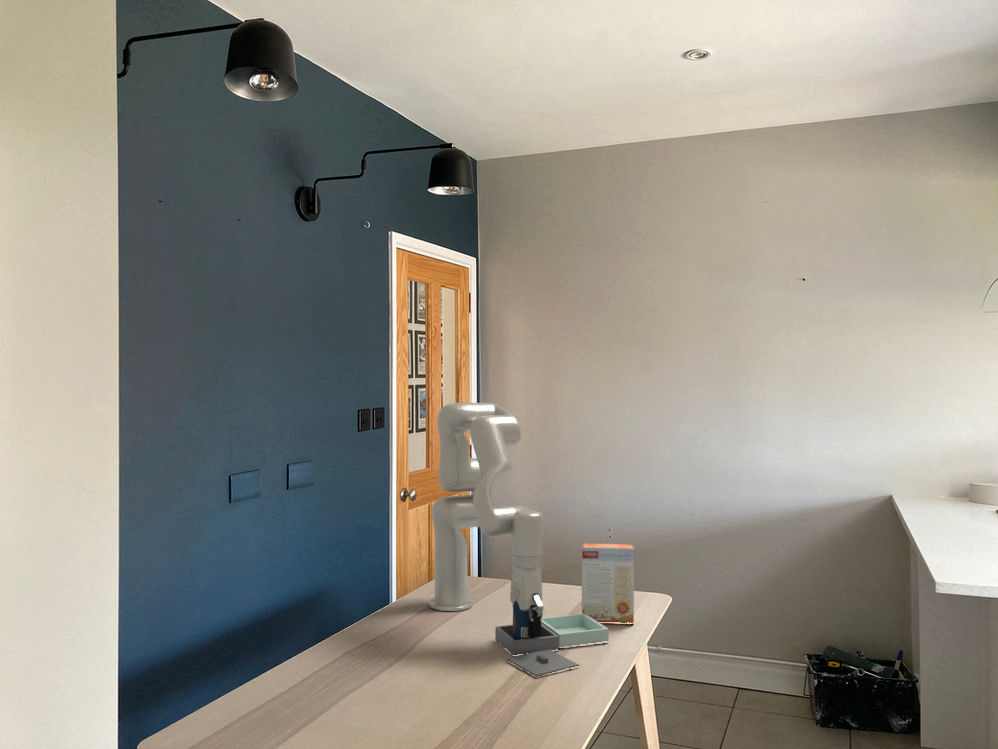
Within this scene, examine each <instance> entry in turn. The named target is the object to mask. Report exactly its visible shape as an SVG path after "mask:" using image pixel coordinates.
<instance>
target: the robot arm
mask: <svg viewBox="0 0 998 749" xmlns="http://www.w3.org/2000/svg"><path fill="white" fill-rule="evenodd" d="M436 422H437V424H436V425H437V432H438V435H439V443H440V446H439V447H440V448H439V470H438V482H439V486H440V488H441V490H443V491H444V492H447V493H460V492H461V493H464V492H470V494H465V495H464V494H462V495H460V494H459V495H450V496H443V497H441V498H438V499H436V500H435V502H434V503H433V504H432V507H431V517H432V518H431V519H432V523H433V531H434V595H433V596H434V597H433V598H431V599H430V600H429V601H428V607H430V608H431V609H432V610H436V611H440V612H441V611H442V612H459V611H465V610H468V609H470V608H471V607H473V600H472V598H469V597H468V562H469V561H468V558H469V556H468V552H469V551H468V548H469V547H468V542H467V540H466V538H465V536H464V535H463V533H462V531H461V530H463V529H469V528H479V529H480V531H481V533H482V534H483V535H484V536H485V537H488V538H490V539H491V538H494V539H495V538H504V537H512V543H511V544H512V545H511V546H512V551H511V553H512V554H511V555H512V557H511V560H512V561H511V564H512V567H511V568H512V570H511V578H510V580H511V581H510V596H509V597H510V598H509V600H510V602H511V604H513V603H514V601H517V602H518V604H519V608H520V609H521V610H522V611H526V610H527V611H528V614H529V618H530V620H528V637H530V638H531V637H540V636H541V620H542V618H543V611H544V605H543V582H542V579H543V578H542V571H541V570H542V569H543V564H544V563H543V562H544V560H543V556H544V555H543V554H544V551H543V547H544V546H543V545H544V542H543V541H544V516H543V515H542V513H541V512H540V511H537V510H532V509H530V508H529V507H528V506H525V505H520V504H519V505H504V506H494V507H493V506H492V496H493V494H492V493H493V483H494V482H496V481H498V480H500V479H502V478H503V477H505V476H506V475H508V474H509V473H510V471H511V470H512V467H513V464H512V461H511V457H510V454H509V451H508V447H507V446H515V445H517V444H519V442H520V440H521V438H522V427H521V424H520V421H519V420H518V419H517V417H515V416H514V414H512V413H511V412H510V411H507V410H506V409H505V408H503V407H502V406H500V405H499V404H496V403H494V402H453V403H448V404H446V405H444V406H442V408H440V410H439V412H438V415H437V419H436ZM468 433H469V435H470V439H471V443H472V446H473V450H474V453H475V457H476V458H475V457H472V458H471V457H470V449H471V448H470V441H469V439H468V437H467V436H466V434H468ZM516 599H517V600H516ZM530 606H536V607H532V608H530ZM533 611H536V612H534V614H532V612H533Z"/></svg>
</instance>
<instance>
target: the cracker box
mask: <svg viewBox="0 0 998 749" xmlns="http://www.w3.org/2000/svg"><path fill="white" fill-rule="evenodd" d="M581 548H582V549H581V551H582V552H581V614H586V615H587V616H589V617H591V618H592V619H594V620H595V621H597V622H621V623H627V622H629V623H630V622H631V623H633V622H634V623H635V621H634V620H635V619H634V617H635V613H634V612H635V610H634V608H635V602H634V601H635V600H634V599H635V597H634V596H635V591H634V590H635V582H634V581H635V580H634V579H635V572H634V571H635V566H634V565H635V563H634V562H635V548H634V546H633V544H629V543H628V544H627V543H626V544H625V543H623V544H622V543H621V544H620V543H619V544H618V543H584V542H583V543H582V545H581Z"/></svg>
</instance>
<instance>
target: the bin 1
mask: <svg viewBox="0 0 998 749" xmlns="http://www.w3.org/2000/svg"><path fill="white" fill-rule="evenodd" d="M494 632H495V635H494V636H495V640H496V641H497V642H498V643H500V644H501V645H502V646H503V647H504V648H506V649H507V650H508V651H509V652H510V653H511V654H512V655H518V654H527V653H532V652H537V651H541V650H546V649H549V650H556V649H559V636H558V635H556V634H555V633H554V632H552V631H551V630H550V629H548V628H547V627H546V626H544V625H543V624H541V637H539V638H531V639H522V640H514V639H513V624H508V625H499V626H495V631H494ZM496 641H495V642H496ZM497 642H496V643H497ZM498 643H497V644H498ZM502 646H501V647H502ZM503 647H502V648H503ZM504 648H503V649H504ZM559 650H560V649H559Z"/></svg>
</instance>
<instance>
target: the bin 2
mask: <svg viewBox="0 0 998 749" xmlns="http://www.w3.org/2000/svg"><path fill="white" fill-rule="evenodd" d="M541 624H543V625H544V626H546V627H547V628H548V629H550V630H551V631H552V632H554V633H555V634H556V635H558V636H559V647H564V646H571V645H580V644H588V643H596V642H602V641H609V642H610V640H609V639H610V638H609V636H610V635H609V634H610V629H609V628H608V627H606V626H605V625H604V624H600V623H599V622H597V621H595V620H594V619H592V618H591V617H589V616H587V615H586V614H582V613H576V614H568V615H567V614H566V615H558V616H548V617H547V616H546V617H542V620H541ZM583 628H585V629H583Z"/></svg>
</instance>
